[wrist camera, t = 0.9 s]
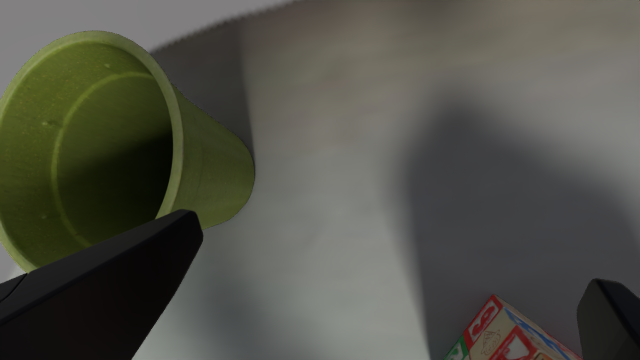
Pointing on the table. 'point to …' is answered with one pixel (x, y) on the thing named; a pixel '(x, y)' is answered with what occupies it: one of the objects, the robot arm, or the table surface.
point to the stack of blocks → (506, 337)
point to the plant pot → (106, 150)
